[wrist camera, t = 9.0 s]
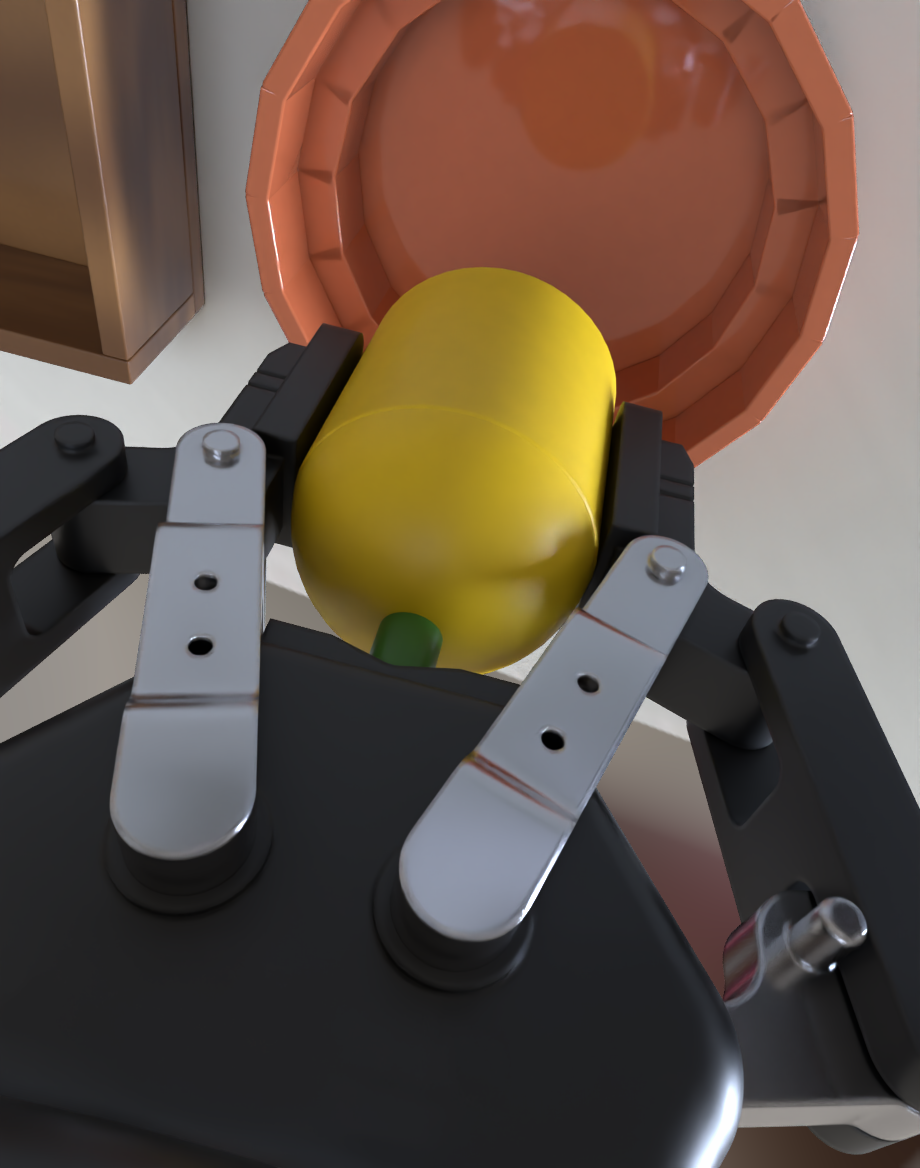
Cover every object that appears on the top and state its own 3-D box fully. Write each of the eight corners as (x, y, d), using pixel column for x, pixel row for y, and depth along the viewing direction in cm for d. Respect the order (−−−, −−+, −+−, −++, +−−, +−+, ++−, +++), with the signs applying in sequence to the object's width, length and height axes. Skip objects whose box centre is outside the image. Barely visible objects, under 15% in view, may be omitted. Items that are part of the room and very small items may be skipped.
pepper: (383, 234, 14) (197, 514, 9) (652, 303, 14) (630, 628, 9) (360, 454, 18) (217, 752, 12) (577, 511, 18) (528, 836, 12)
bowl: (322, -210, 18) (235, -207, 15) (954, -56, 18) (1017, -14, 15) (303, 351, 28) (249, 432, 25) (708, 456, 28) (710, 552, 25)
